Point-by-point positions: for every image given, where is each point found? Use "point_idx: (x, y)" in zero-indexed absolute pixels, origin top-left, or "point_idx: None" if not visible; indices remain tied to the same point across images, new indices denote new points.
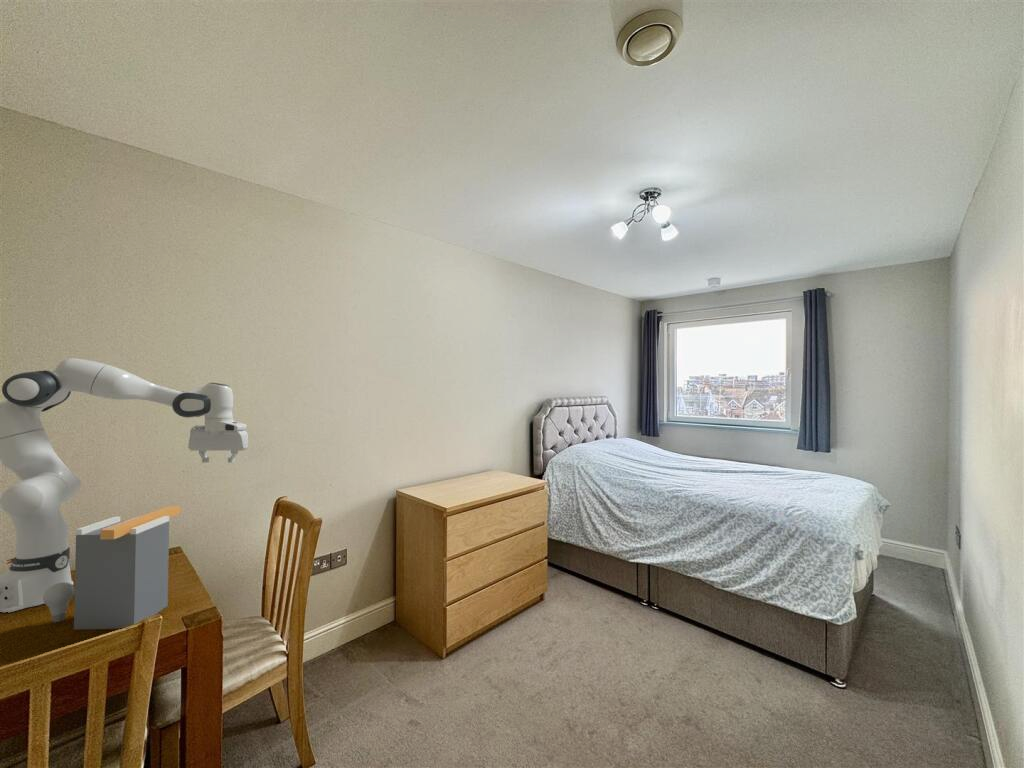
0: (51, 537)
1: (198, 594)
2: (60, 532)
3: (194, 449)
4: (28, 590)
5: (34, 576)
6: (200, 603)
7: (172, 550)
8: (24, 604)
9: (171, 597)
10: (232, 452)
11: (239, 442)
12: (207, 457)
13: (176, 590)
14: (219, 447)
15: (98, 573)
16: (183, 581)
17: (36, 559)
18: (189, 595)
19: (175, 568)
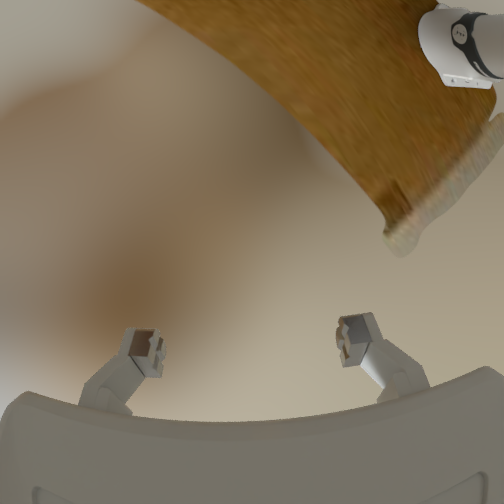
0: (498, 22)
1: (182, 24)
2: (502, 34)
3: (466, 382)
4: (448, 10)
5: (460, 14)
6: (152, 2)
7: (388, 217)
8: (437, 9)
9: (226, 9)
10: (97, 394)
11: (5, 446)
12: (352, 362)
13: (241, 32)
14: (195, 453)
15: None
16: (260, 68)
17: (478, 13)
18: (197, 19)
19: (327, 129)
